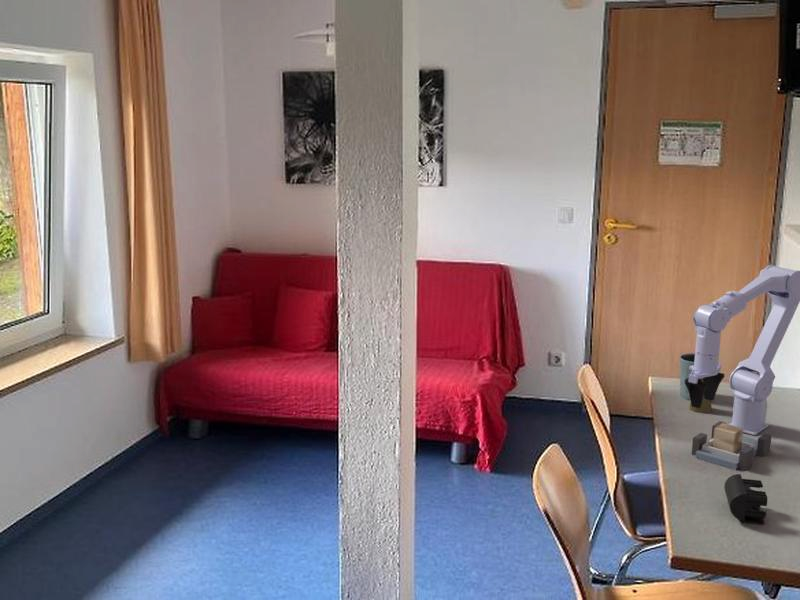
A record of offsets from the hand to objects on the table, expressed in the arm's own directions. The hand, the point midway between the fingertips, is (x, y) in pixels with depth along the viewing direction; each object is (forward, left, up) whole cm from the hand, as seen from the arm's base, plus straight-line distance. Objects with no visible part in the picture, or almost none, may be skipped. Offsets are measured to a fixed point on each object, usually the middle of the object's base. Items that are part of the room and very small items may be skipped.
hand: (702, 403), depth 215 cm
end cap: (+33, +25, -10) cm, 43 cm away
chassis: (+4, +10, -9) cm, 14 cm away
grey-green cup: (-29, -15, -10) cm, 34 cm away
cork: (-20, -9, -10) cm, 24 cm away
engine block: (+6, +10, -8) cm, 14 cm away
